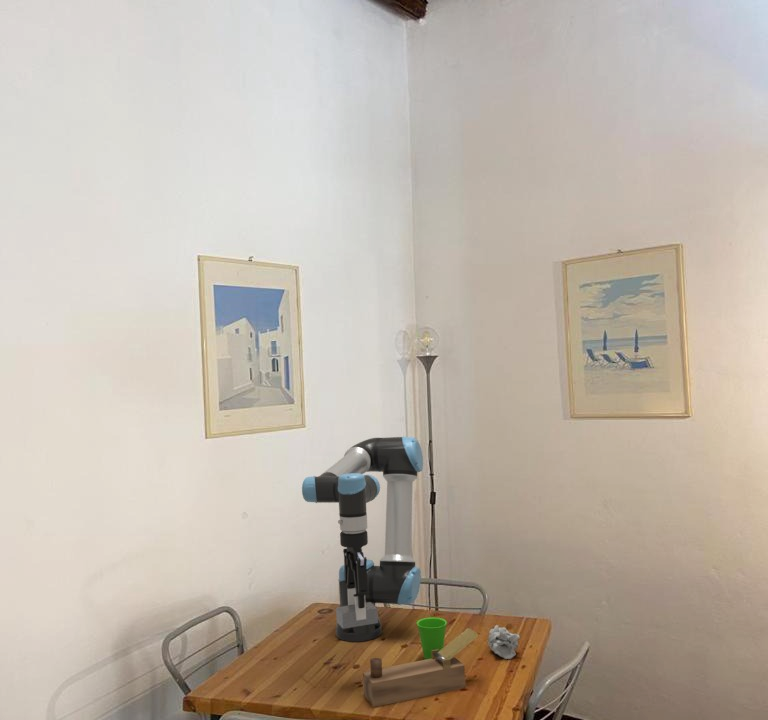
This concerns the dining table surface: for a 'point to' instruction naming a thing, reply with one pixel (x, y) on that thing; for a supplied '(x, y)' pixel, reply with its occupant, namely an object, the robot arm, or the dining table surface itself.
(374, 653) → the dining table surface
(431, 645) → the cup
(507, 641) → the figurine
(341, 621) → the lever cap
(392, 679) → the plane body
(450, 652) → the lever
